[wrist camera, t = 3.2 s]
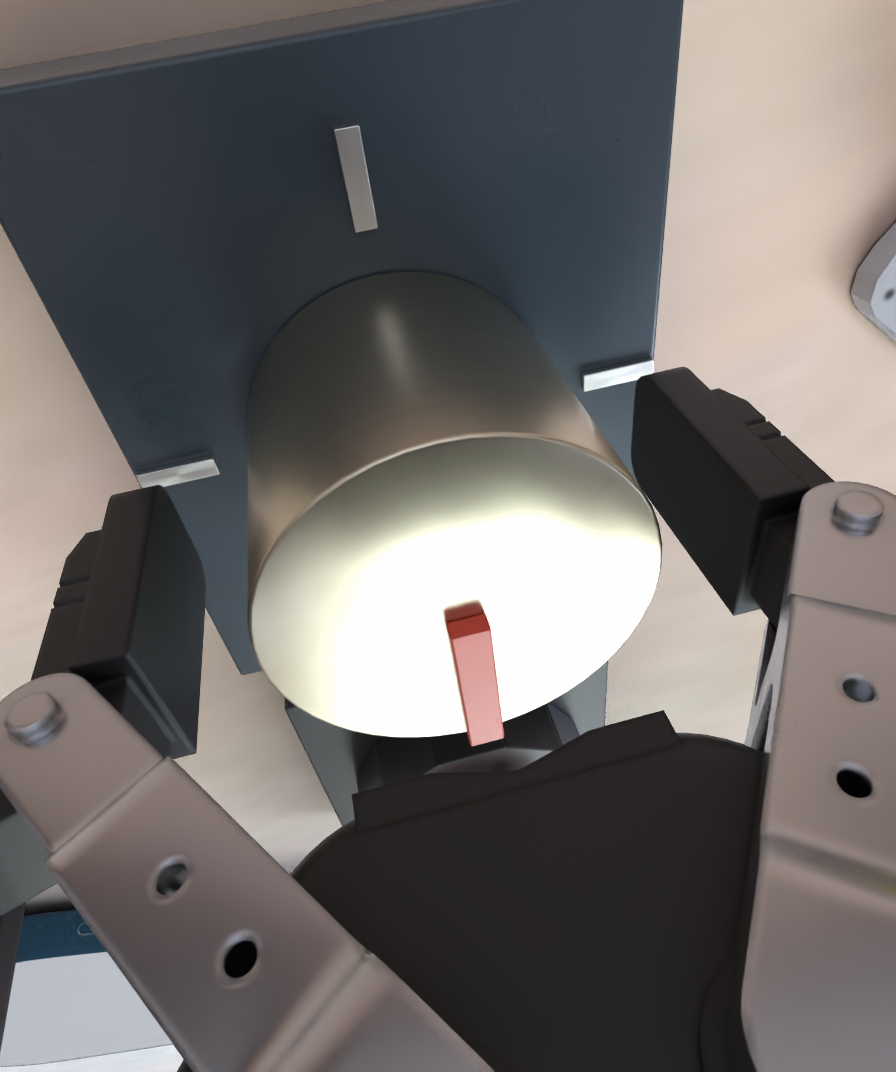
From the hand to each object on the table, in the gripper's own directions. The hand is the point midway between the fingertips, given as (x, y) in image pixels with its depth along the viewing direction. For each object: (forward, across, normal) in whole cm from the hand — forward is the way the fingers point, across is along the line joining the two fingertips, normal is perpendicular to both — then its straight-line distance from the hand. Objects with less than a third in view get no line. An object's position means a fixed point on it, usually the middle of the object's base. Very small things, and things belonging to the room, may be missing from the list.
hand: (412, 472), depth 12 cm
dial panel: (+4, 0, 0) cm, 4 cm away
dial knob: (+2, 0, 0) cm, 2 cm away
